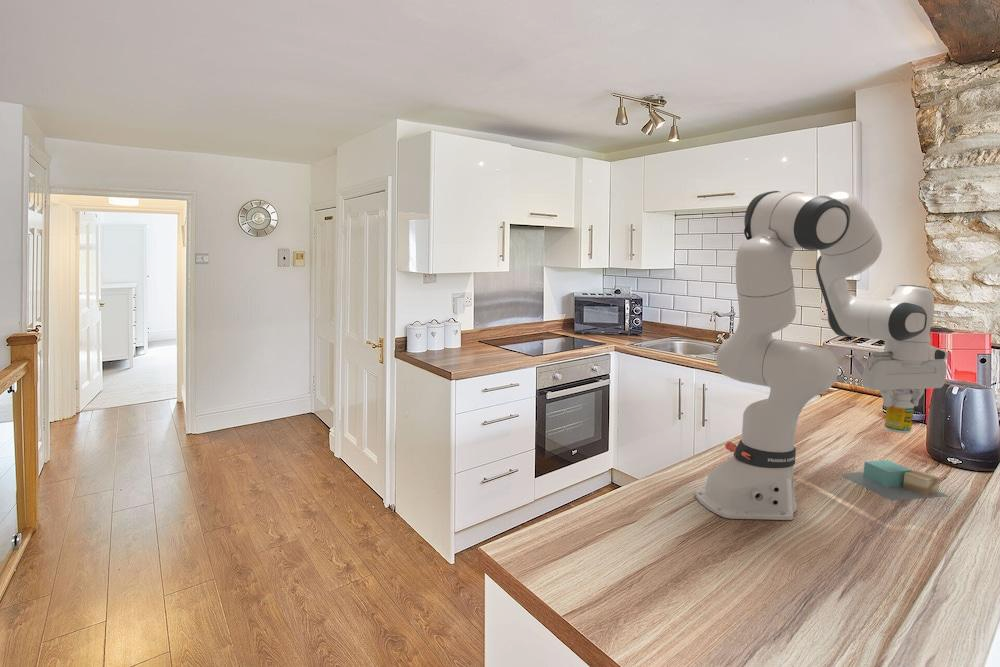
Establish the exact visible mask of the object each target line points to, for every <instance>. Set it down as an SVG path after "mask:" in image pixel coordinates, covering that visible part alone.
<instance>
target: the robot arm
mask: <svg viewBox="0 0 1000 667" xmlns="http://www.w3.org/2000/svg"><path fill="white" fill-rule="evenodd" d="M746 208H747V209H746V211H745V214H744V221H743V223H744V230H743V233H744V237H745V239H746V240H745V241H744V242H742V244H740V245H739V247H738V249H737V251H736V258H735V286H736V293H737V301H738V302H737V303H738V304H737V305H738V313H739V314H738V315H739V316H738V317H739V318H738V319H739V320H738V324H737V328H736V329H735V331H734V333H733V334H732V335H730V336H729V337H728V338H726V339H725V340H724V341H723V342H722V343H720V346H719V347H718V348H717V352H716V357H715V359H716V365H717V368H718V370H719V371H720V373H721V374H722V375H723V376H725V377H728V378H730V379H732V380H734V381H738V382H740V383H746V384H751V385H756V386H762V387H768V388H770V392H769V395H768V397H767V398H765V399H761V400H758V401H755V402H752V403H750V404H749V405H747V407H746V408H745V409H744V411H743V415H742V429H741V438H740V440H739V441H738V444H737V445H736V444H735V443H734V442H732V441H727V442H726V443H725V444H724V448H725V449H726V450H727V451H729V452H731V453H733V455H732V456H731V457H730V458H728V459H727V460H725V461H723V463H721V464H720V465H718V466H717V467H716V468H714V469H712V470H711V471H710V472H709V473H708V476H707V478H706V481H705V482H706V483H705V486H704V487H699V488H696V489H695V491H694V496H695V499H696V500H697V501H698V502H699V503H700V504H701V505H702V506H703V507H704V508H706V509H708V510H709V511H711V512H712V513H714V514H715V515H718V516H720V517H722V518H725V519H731V520H732V519H733V520H734V519H736V520H737V519H738V520H739V519H741V520H771V521H772V520H775V521H776V520H777V521H778V520H781V521H791V520H793V519H794V513H795V512H797V510H798V504H797V501H796V496H795V488H794V465H795V464H796V456H797V455H796V454H797V452H796V451H797V450H796V447H795V442H796V441H795V439H796V432H797V426H798V421H799V417H800V415H801V413H802V410H803V409H804V407H805V406H806V405H807V404H808V402H810V401H811V400H812V399H813V398H815V397H817V396H819V395H820V394H824V392H826V391H828V390H829V389H830V388H832V387H833V386H834V384H835V383H836V381H837V378H838V375H839V372H840V371H839V370H840V369H839V363H838V359H837V358H836V356H835V355H834V353H833V352H832V351H831V350H830V349H827V348H825V347H821V346H818V345H815V344H811V343H808V342H807V343H806V342H799V341H798V342H797V341H790V340H781V339H780V340H779V339H775V338H774V337H773V333H777V332H779V331H782V330H784V329H785V328H787V327H788V326H790V325H791V324H792V322H793V321H794V319H795V318H796V315H797V314H796V313H797V308H796V307H797V306H796V294H795V284H794V275H793V271H792V266H791V265H792V264H791V261H792V256H793V254H794V251H795V249H796V248H797V249H798V248H799V249H804V250H808V251H819V253H820V256H819V257H818V258H817V260H816V264H815V273H816V277H817V281H818V284H819V288H820V291H821V293H822V297H823V301H824V303H825V306H826V310H827V322H828V324H829V327H830V328H831V330H832V331H833V332H834V333H835V335H837V336H839V337H844V338H845V337H847V338H861V339H862V338H863V339H870V340H871V339H872V340H876V341H877V340H880V341H884V347H883V351H881V352H879V351H878V352H877V351H876V352H872V354H870V355H869V356H868V357H867V359H866V363H865V365H864V368H863V373H862V376H861V377H862V378H861V384H862V386H863V388H865V389H867V390H871V391H879V393H880V395H881V398H882V399H883V401H882V406H884V408H885V407H886V408H887V407H894V403H895V400H892V398H891V394H892V392H893V391H898V390H911V391H912V393H911V394H912V399H911V400H910V402H912V403H913V405H914V407H918V406H919V401H920V399H921V398H922V396H923V395H924V393H925V389H941V388H942V387H944V385H945V383H946V378H947V373H948V372H947V370H948V368H947V366H948V365H947V362H946V360H947V359H948V358H949V352H948V350H944V349H942V348H938V347H936V346H933V345H931V342H932V339H931V333H930V332H931V328H932V326H933V324H934V318H935V316H934V315H935V297H934V292H933V290H932V289H930V288H929V287H926V286H921V285H913V284H912V285H911V284H900V285H896V286H894V287H893V290H892V293H891V296H889V297H887V298H886V299H877V298H876V299H874V298H862V297H858V296H855V295H853V294H851V293H850V288H849V286H848V282H847V278H849V277H854V276H857V275H859V274H861V273H863V272H866V270H868V269H869V268H870V267H872V266H873V265H874V264H875V263H876V262H877V260H878V259H879V257H880V255H881V253H882V249H883V244H882V243H883V241H882V238H881V235H880V233H879V231H878V229H877V226H876V224H875V222H874V220H873V219H872V217H871V215H870V214H869V213H868V211H867V209H866V208H865V207H864V205H863V204H862V203H861V201H860V200H859V199H858V197H856V195H854V194H853V193H851V192H849V191H845V190H836V191H832V192H831V191H830V192H828V193H826V194H823V195H817V194H812V193H805V192H802V191H791V190H790V191H779V190H773V191H766V192H763V193H760V194H758V195H756V196H755V197H754V198H753V199H752V200H751V201H750V202H749V204H748V205H747V207H746Z"/></svg>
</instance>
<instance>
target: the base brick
mask: <svg viewBox="0 0 1000 667" xmlns="http://www.w3.org/2000/svg"><path fill="white" fill-rule="evenodd" d="M910 471H914V470H913V469H911V468H908V467H905V466H903V465H900V464H899V463H896V462H893V461H891V460H888V459H884V460H869V461H864V465H863V472H864V473H863V476H864V477H866V478H868V479H870V480H872V481H875V482H877V483H879V484H881V485H883V486H885V487H898V486H903V483H904V474H905V473H906V472H910Z"/></svg>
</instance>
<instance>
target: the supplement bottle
mask: <svg viewBox="0 0 1000 667" xmlns="http://www.w3.org/2000/svg"><path fill="white" fill-rule="evenodd" d="M890 396H891V399H892V400H895V403H894V407H886V411H885V417H884V418H885V420H884V428H885V429H886V430H887V431H889V432H891V433H896V434H897V433H898V434H909V433H911V432H912V425H913V418H914V409H915V406H914V405H913V403H912V402H910V400H911V399H912V393H909V392H907V391H906V392H905V391H898V390H892V394H890Z"/></svg>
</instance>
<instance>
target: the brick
mask: <svg viewBox="0 0 1000 667" xmlns="http://www.w3.org/2000/svg"><path fill="white" fill-rule="evenodd" d="M940 482H941V477H940V476H938V475H934V474H931V473H928V472H925V471H922V470H919V469H915V470H913V471H910V472H906V473H905V474H904V483H903V488H904V489H907V490H910V491H912V492H915V493H918V494H921V495H923V496H929V495H933V494H936V493H938V491H939V492H940Z"/></svg>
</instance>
